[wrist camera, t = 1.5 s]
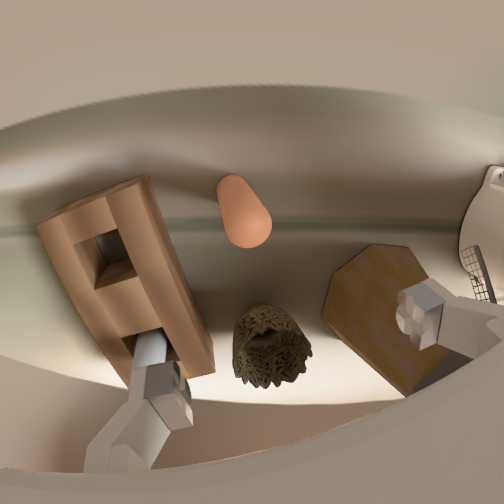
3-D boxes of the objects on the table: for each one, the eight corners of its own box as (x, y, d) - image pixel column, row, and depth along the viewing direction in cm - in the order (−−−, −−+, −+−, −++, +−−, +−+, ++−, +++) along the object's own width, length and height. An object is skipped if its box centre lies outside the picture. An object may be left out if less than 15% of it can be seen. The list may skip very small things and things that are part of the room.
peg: (244, 170, 29) (265, 197, 20) (252, 201, 30) (276, 240, 21) (212, 180, 29) (218, 210, 19) (221, 210, 30) (232, 253, 21)
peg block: (146, 173, 27) (136, 184, 23) (212, 342, 36) (215, 372, 31) (57, 209, 27) (35, 226, 22) (135, 361, 35) (130, 391, 31)
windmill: (416, 337, 42) (530, 488, 15) (329, 373, 41) (419, 564, 14) (418, 199, 33) (642, 350, 6) (305, 233, 32) (514, 516, 5)
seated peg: (162, 305, 33) (153, 371, 24) (172, 327, 34) (168, 394, 25) (137, 312, 33) (122, 378, 24) (148, 333, 34) (138, 400, 25)
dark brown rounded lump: (234, 279, 33) (244, 326, 26) (299, 290, 35) (324, 334, 28) (218, 336, 36) (225, 387, 28) (279, 343, 37) (296, 391, 30)
